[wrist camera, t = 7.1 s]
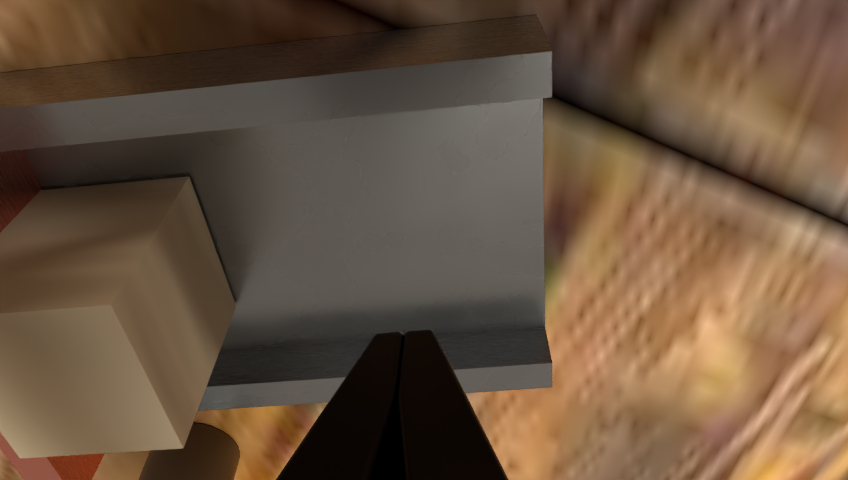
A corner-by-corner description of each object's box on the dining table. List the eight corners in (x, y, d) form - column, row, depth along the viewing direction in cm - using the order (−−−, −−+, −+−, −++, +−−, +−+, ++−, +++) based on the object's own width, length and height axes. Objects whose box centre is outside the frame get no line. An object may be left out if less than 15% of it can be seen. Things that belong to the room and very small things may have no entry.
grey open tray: (536, 14, 15) (578, 112, 11) (540, 328, 21) (569, 477, 17) (-26, 75, 17) (-197, 187, 12) (122, 358, 22) (43, 506, 18)
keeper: (189, 176, 17) (111, 305, 13) (236, 306, 19) (183, 448, 15) (40, 190, 17) (-83, 320, 13) (105, 316, 20) (20, 458, 16)
